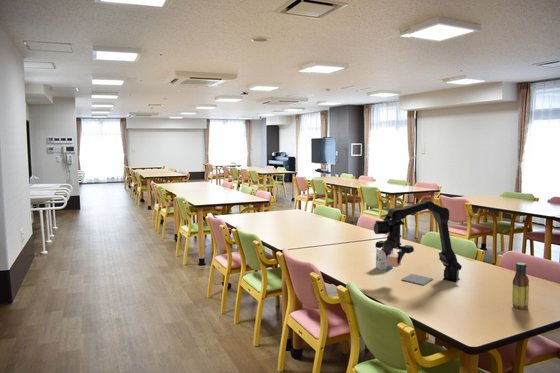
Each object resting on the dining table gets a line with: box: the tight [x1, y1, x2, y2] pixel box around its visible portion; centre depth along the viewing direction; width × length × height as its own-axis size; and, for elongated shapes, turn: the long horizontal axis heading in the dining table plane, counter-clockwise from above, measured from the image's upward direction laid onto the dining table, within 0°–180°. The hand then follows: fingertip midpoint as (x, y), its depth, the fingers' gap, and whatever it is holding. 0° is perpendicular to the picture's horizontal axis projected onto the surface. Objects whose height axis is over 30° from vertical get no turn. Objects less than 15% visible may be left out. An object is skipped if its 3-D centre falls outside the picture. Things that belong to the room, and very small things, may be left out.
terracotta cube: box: [387, 253, 402, 268], centre depth 211 cm, size 5×5×5 cm
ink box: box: [375, 247, 394, 271], centre depth 237 cm, size 9×5×12 cm, turn 105°
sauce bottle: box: [511, 261, 530, 310], centre depth 179 cm, size 7×6×20 cm
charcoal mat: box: [401, 273, 434, 286], centre depth 217 cm, size 12×12×1 cm
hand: (393, 263), depth 211 cm, fingers closed on terracotta cube, 5 cm apart
